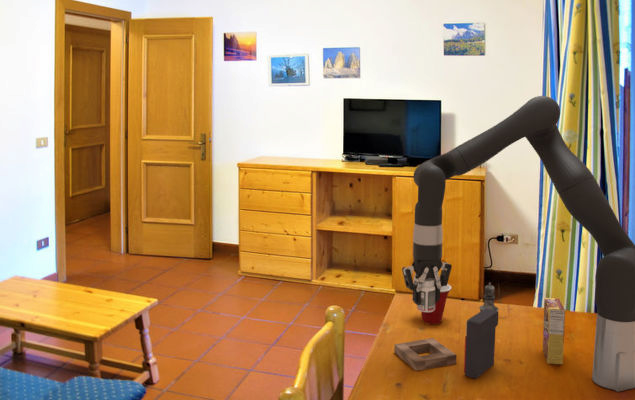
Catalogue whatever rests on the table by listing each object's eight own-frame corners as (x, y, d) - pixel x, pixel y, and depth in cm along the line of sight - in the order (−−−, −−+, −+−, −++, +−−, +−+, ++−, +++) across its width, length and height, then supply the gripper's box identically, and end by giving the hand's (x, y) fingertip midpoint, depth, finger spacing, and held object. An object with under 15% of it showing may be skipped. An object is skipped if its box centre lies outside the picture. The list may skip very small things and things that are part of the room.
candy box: (541, 350, 176) (544, 297, 173) (557, 351, 175) (560, 298, 172) (545, 363, 167) (548, 308, 164) (562, 365, 166) (566, 309, 163)
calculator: (480, 360, 169) (483, 307, 166) (496, 365, 166) (498, 310, 164) (462, 375, 161) (464, 319, 158) (477, 380, 158) (480, 323, 155)
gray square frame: (456, 363, 167) (456, 354, 167) (415, 371, 163) (416, 361, 163) (432, 346, 179) (432, 338, 178) (394, 352, 174) (394, 344, 174)
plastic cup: (453, 327, 192) (455, 289, 190) (418, 327, 192) (418, 289, 190) (446, 314, 203) (447, 278, 201) (412, 314, 203) (413, 278, 201)
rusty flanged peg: (474, 317, 200) (476, 281, 198) (489, 314, 203) (491, 278, 200) (487, 323, 195) (488, 286, 193) (502, 320, 197) (503, 283, 195)
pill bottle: (434, 306, 171) (435, 276, 169) (435, 312, 166) (436, 282, 165) (416, 306, 171) (417, 276, 170) (417, 312, 167) (418, 281, 165)
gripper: (410, 246, 159) (409, 311, 162) (459, 241, 164) (457, 304, 167) (396, 239, 166) (395, 301, 169) (444, 234, 171) (442, 295, 174)
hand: (426, 302), depth 168 cm, fingers closed on pill bottle, 4 cm apart
